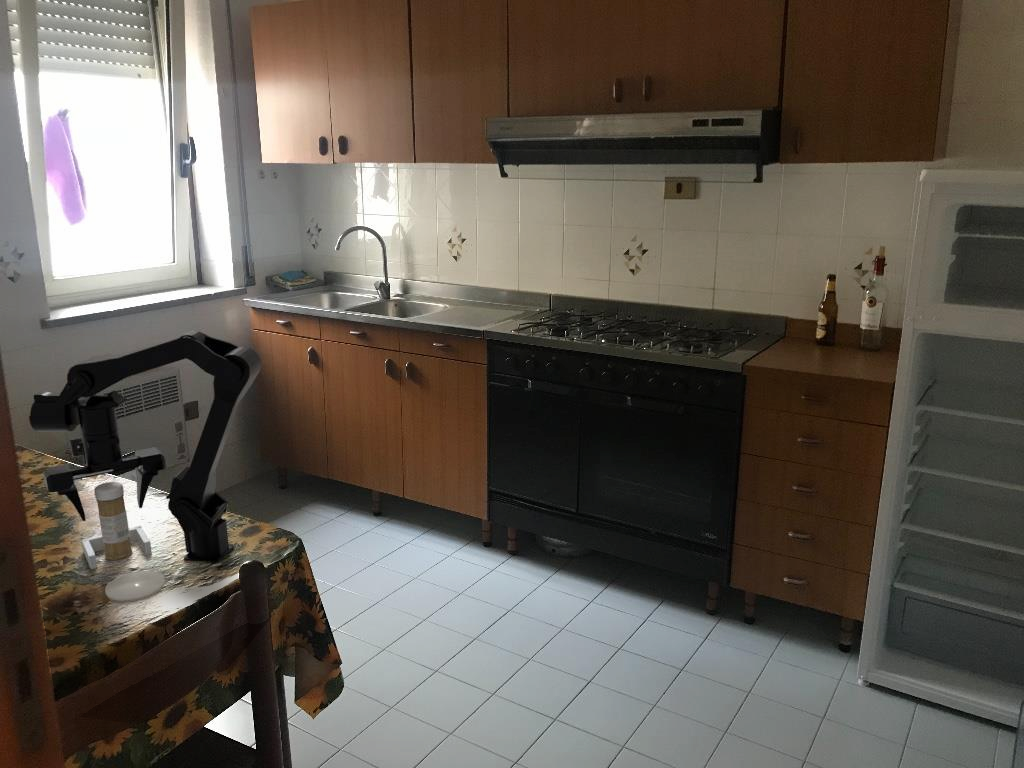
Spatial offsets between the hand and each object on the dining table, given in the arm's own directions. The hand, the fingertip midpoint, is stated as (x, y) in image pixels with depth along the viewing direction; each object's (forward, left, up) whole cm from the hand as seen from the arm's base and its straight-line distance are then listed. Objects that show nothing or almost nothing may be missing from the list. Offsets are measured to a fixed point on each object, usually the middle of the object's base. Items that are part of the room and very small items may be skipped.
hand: (112, 513), depth 147 cm
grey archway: (0, 0, -8) cm, 8 cm away
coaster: (-10, +11, -8) cm, 17 cm away
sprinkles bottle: (0, 0, -8) cm, 8 cm away
